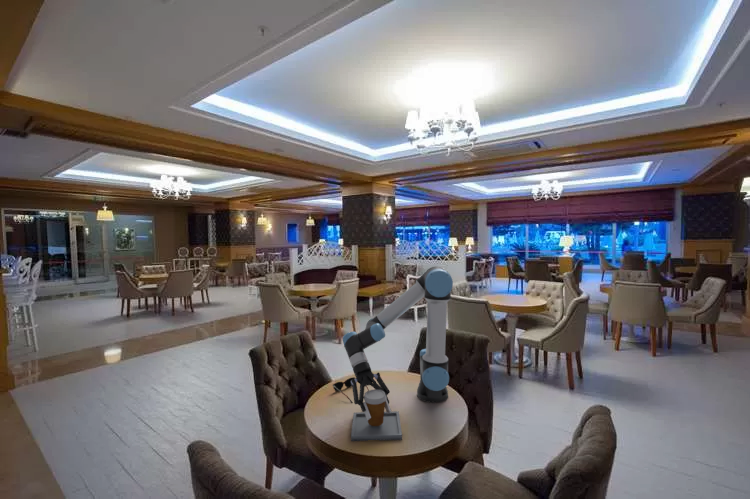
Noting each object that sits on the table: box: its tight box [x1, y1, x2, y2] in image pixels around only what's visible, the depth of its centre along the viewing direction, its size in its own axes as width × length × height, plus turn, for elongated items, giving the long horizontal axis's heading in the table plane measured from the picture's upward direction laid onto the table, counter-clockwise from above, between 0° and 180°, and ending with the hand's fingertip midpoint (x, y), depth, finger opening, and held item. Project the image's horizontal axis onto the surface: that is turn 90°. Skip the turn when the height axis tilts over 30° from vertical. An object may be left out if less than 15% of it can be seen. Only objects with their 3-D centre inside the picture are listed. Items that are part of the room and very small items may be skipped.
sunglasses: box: [331, 376, 370, 404], centre depth 179 cm, size 14×16×5 cm
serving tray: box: [350, 410, 403, 442], centre depth 147 cm, size 20×18×2 cm
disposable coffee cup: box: [363, 389, 386, 426], centre depth 147 cm, size 10×10×12 cm
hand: (379, 415), depth 144 cm, fingers closed on disposable coffee cup, 9 cm apart
